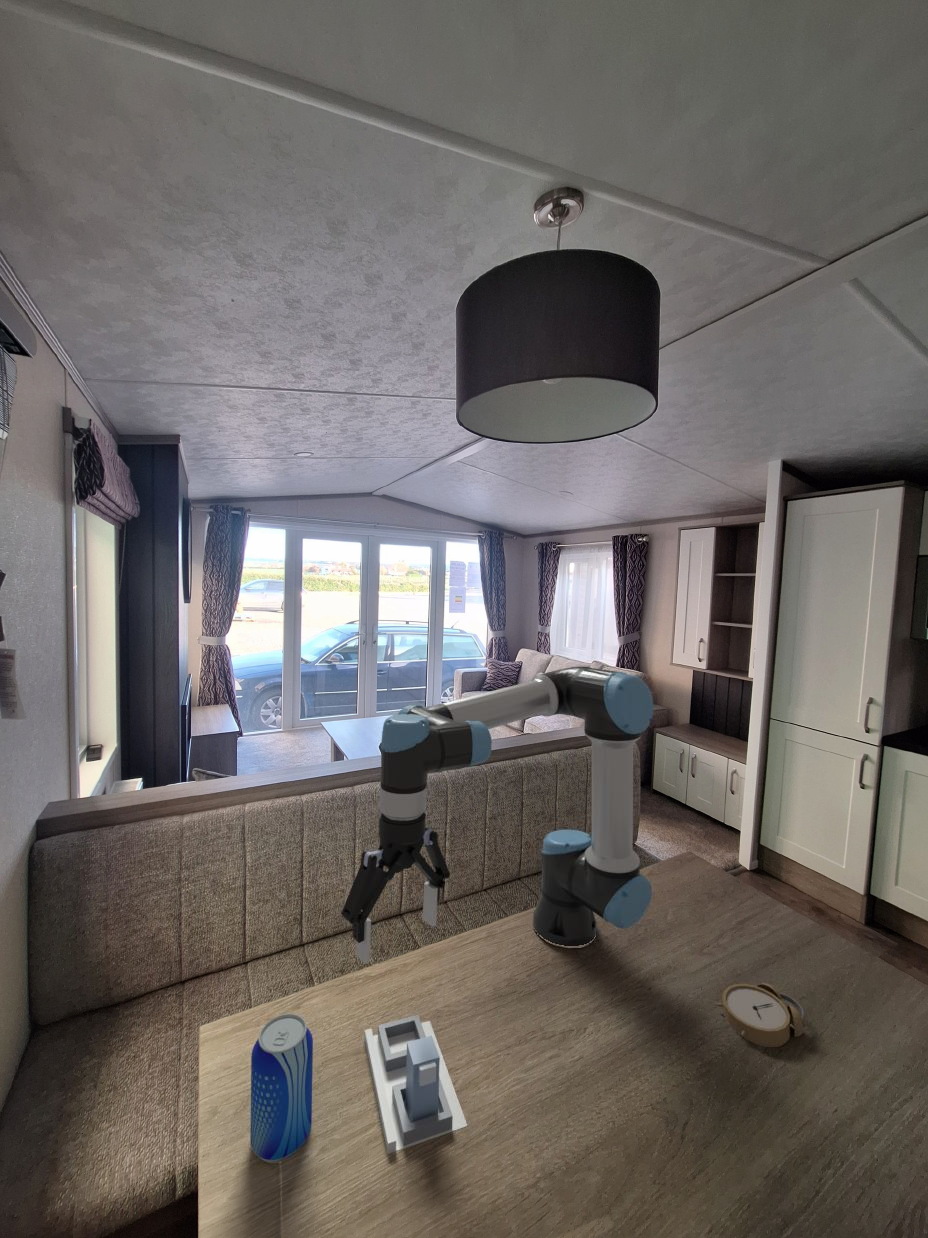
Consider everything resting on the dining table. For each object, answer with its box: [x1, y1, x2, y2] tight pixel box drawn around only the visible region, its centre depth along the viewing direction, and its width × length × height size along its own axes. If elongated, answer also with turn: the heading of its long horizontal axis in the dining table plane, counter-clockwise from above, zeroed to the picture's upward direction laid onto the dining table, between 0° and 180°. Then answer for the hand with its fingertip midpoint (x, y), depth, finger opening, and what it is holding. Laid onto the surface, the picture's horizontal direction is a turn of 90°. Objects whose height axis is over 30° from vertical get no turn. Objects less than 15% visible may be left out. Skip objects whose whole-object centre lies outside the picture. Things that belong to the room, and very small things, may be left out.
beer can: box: [249, 1013, 314, 1164], centre depth 75 cm, size 8×8×16 cm
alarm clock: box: [715, 982, 807, 1048], centre depth 98 cm, size 11×5×15 cm
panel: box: [364, 1014, 468, 1155], centre depth 84 cm, size 12×20×3 cm, turn 20°
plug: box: [405, 1036, 440, 1123], centre depth 77 cm, size 4×5×10 cm
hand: (397, 939), depth 84 cm, fingers open, 13 cm apart
